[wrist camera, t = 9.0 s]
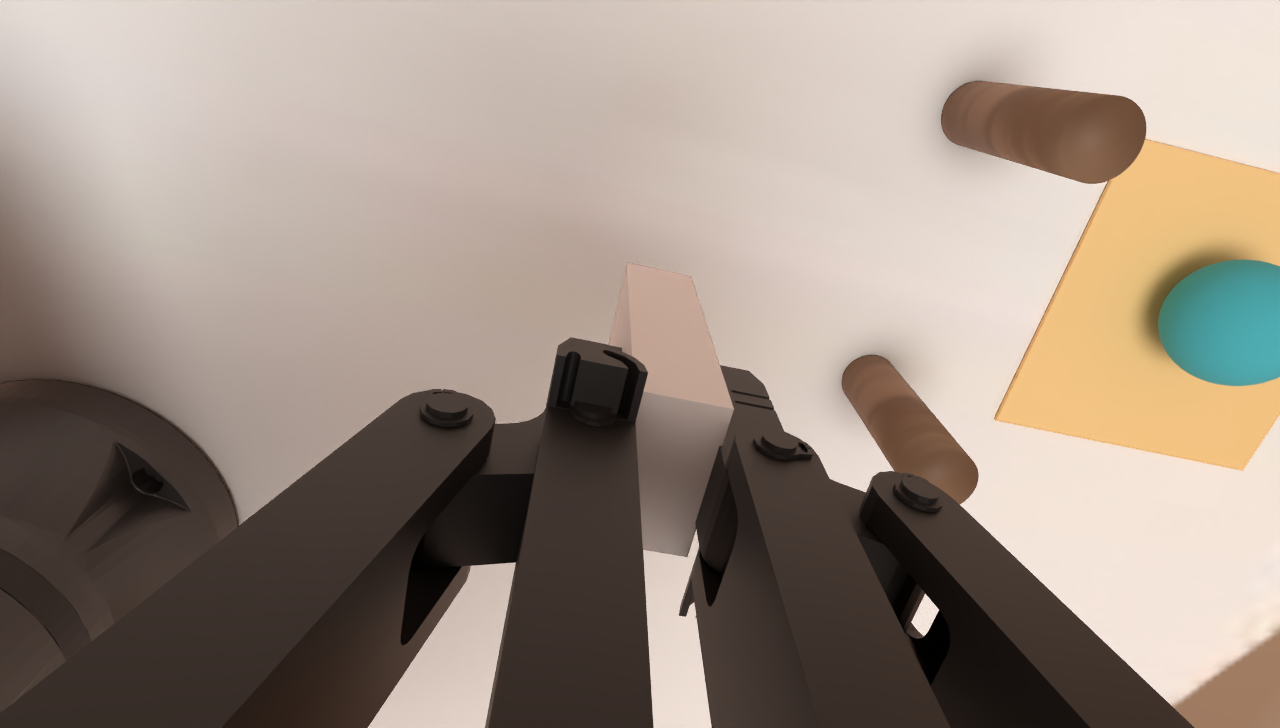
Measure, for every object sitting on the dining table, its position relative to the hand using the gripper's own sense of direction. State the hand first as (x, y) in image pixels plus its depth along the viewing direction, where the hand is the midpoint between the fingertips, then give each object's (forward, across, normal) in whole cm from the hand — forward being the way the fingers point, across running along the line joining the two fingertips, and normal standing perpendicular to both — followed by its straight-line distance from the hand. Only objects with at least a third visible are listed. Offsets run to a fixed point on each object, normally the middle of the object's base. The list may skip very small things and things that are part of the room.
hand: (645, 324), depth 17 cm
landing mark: (+16, -27, 0) cm, 31 cm away
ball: (+13, -27, -1) cm, 30 cm away
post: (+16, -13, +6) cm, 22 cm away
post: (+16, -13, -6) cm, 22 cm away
